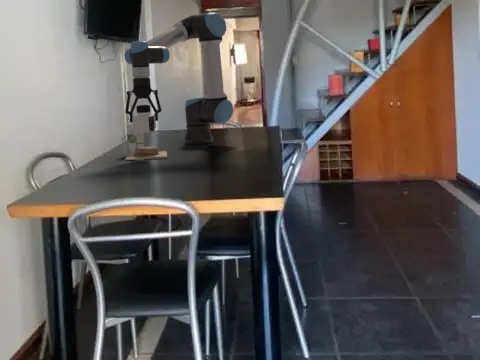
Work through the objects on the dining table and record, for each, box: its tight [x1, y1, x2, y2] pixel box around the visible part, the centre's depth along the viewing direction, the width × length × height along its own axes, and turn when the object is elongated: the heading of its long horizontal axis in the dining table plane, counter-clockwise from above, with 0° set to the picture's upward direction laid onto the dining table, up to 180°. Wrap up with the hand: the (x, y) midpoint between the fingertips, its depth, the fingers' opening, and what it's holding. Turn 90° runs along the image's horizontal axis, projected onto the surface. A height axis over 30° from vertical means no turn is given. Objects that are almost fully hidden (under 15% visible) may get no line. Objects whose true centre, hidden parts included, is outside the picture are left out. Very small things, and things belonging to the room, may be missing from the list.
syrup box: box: [125, 122, 145, 153], centre depth 289 cm, size 6×6×14 cm
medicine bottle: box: [134, 104, 156, 134], centre depth 274 cm, size 7×7×12 cm
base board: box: [125, 146, 168, 162], centre depth 276 cm, size 18×18×4 cm
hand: (144, 128), depth 274 cm, fingers closed on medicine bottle, 8 cm apart
